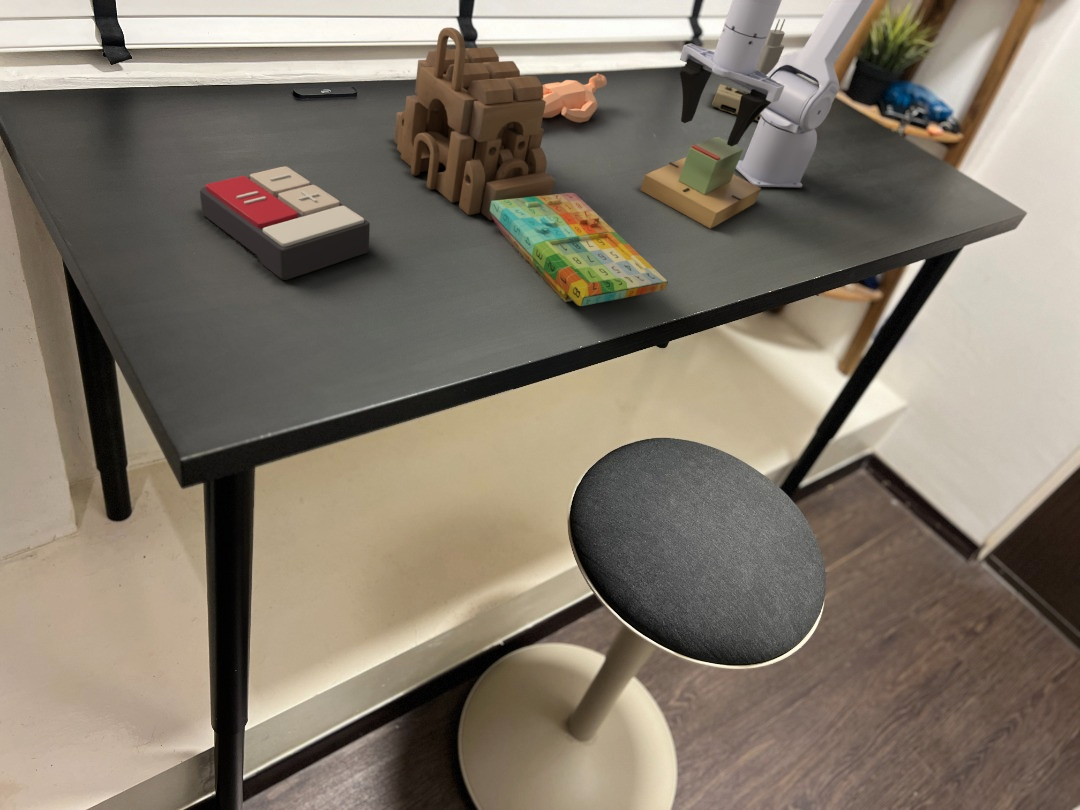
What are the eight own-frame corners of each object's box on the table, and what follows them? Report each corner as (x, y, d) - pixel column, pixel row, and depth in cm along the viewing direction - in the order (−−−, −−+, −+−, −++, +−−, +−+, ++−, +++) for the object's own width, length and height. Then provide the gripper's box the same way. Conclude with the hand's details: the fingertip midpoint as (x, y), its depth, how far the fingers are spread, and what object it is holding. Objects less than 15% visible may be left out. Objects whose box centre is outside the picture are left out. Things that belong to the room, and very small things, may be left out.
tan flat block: (687, 168, 121) (693, 152, 119) (755, 203, 116) (762, 187, 114) (639, 190, 111) (644, 172, 110) (711, 229, 107) (717, 212, 105)
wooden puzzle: (560, 207, 103) (596, 63, 90) (470, 226, 94) (496, 70, 82) (464, 132, 113) (485, -5, 101) (376, 144, 105) (387, -5, 93)
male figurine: (471, 88, 117) (582, 58, 131) (468, 120, 121) (576, 87, 135) (520, 118, 113) (629, 84, 127) (516, 150, 116) (623, 113, 130)
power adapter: (745, 77, 161) (768, 16, 154) (760, 75, 165) (783, 15, 157) (756, 83, 160) (780, 22, 152) (771, 81, 163) (795, 21, 155)
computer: (795, 120, 148) (802, 103, 146) (792, 134, 142) (800, 117, 140) (716, 94, 149) (722, 77, 147) (710, 107, 143) (716, 89, 141)
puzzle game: (573, 185, 97) (670, 274, 86) (564, 218, 100) (657, 309, 89) (492, 193, 91) (585, 290, 80) (485, 228, 94) (574, 326, 83)
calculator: (287, 161, 89) (371, 216, 83) (288, 196, 92) (370, 252, 85) (196, 181, 82) (281, 243, 75) (201, 218, 85) (283, 281, 78)
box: (704, 168, 116) (717, 134, 112) (730, 181, 114) (744, 147, 111) (677, 180, 110) (690, 145, 107) (704, 194, 109) (717, 159, 105)
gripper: (683, 12, 99) (651, 115, 108) (782, 55, 93) (740, 161, 102) (710, 7, 103) (677, 107, 112) (806, 48, 98) (763, 150, 107)
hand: (709, 132), depth 108 cm, fingers open, 7 cm apart
